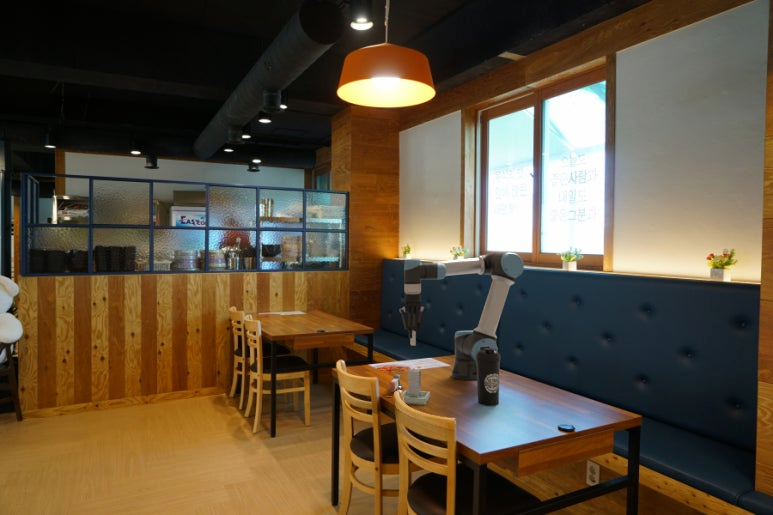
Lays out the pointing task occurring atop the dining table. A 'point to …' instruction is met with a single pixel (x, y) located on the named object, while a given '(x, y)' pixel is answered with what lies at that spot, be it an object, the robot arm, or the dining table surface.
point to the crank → (394, 383)
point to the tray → (418, 401)
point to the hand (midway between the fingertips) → (413, 345)
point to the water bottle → (488, 376)
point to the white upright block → (414, 383)
